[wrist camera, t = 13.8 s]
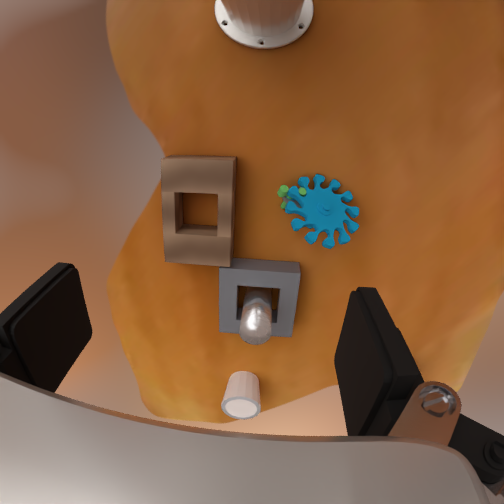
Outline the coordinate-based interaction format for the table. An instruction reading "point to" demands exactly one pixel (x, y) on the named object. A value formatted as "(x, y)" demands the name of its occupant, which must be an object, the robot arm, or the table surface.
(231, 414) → the white fluted cup
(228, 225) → the brown rectangular frame
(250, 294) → the axle
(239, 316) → the socket block
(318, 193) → the gear
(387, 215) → the table surface
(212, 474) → the robot arm
